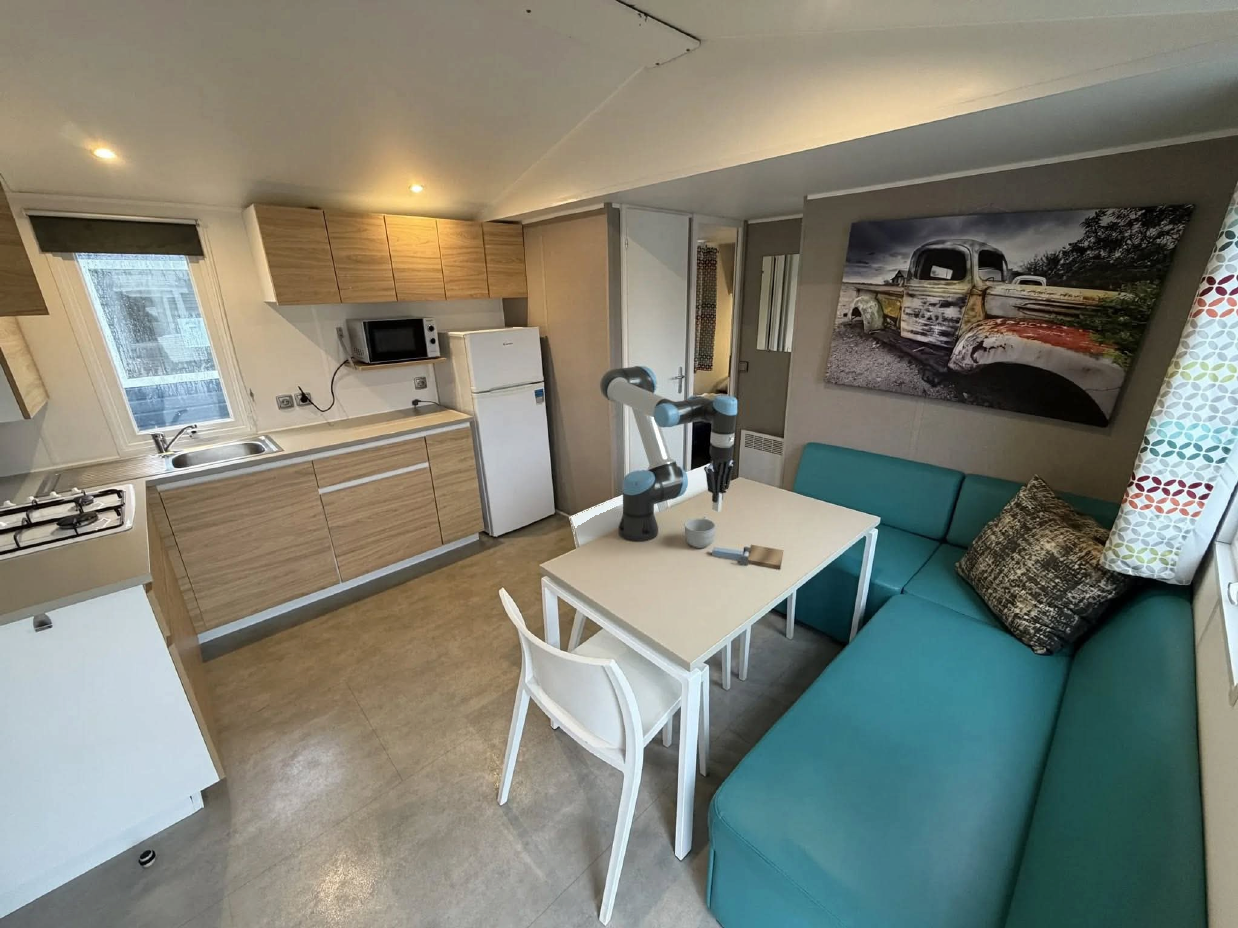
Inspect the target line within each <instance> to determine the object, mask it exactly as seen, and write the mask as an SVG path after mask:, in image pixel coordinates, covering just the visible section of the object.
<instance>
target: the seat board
mask: <svg viewBox="0 0 1238 928" xmlns="http://www.w3.org/2000/svg"><path fill="white" fill-rule="evenodd" d="M750 548H751V553H749V555H748V565H749V564H750V565H754V566H755V565H756V566H759V567H760V566H761V567H765V568H771V569H776V570H781V568H782V562H783V557H784V549H778V548H773V547H767V546H762V545H755V544H750Z"/></svg>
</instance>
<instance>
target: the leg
mask: <svg viewBox="0 0 1238 928" xmlns="http://www.w3.org/2000/svg"><path fill="white" fill-rule="evenodd" d="M743 551H744V550H738V549H731V548H727V547H726V548H724V547H717V546H714V547H713V548H712V552H711V554H712V555H711V556H712V557H715V558H722V559H726V560H732V561H733V560H734V561H736V562H738V561H739V562H740V559H741V555H743ZM748 555H749V552H747V551H745V552H744V555H743V556H748Z"/></svg>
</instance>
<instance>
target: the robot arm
mask: <svg viewBox="0 0 1238 928" xmlns="http://www.w3.org/2000/svg"><path fill="white" fill-rule="evenodd" d="M654 373H655V372H653V370H652V369H651V368H649V367H647V366H645V365H643V366H639V365H636V366H631V367H630V366H629V367H621V368H613V369H610V370H608V371H606V372H605V373H604V374H603V375H602V377H601V379H600V383H599V388H600V389H599V390H600V392H601V394H602V396H603V397H604V398H605V399H607V400H608V401H610V402H612V403H615V404H619V403H621V404H624V405H625V406H627V407H630V408H631V410H632V413H633V416H634V420H635V423H636V426H637V429H638V432H639V433H638V434H639V436H640V439H641V441H642V445H643V448H644V452H645V455H646V458H647V461H648V468H647V469H642V470H634V471H631V472H629V473H627V474H626V475H625V476H624V477H623V480H622V487H621V490H622V515H621V518H620V520H619V525H618V535H619V536H620V537H621V538H622V539H624V540H627V541H631V542H645V541H646V542H647V541H650V540H653V539H655V538H657V536H658V535H659V525H658V522H657V519H656V516H655V511H654V510H655V505H657V504H659V503H663V502H667V501H670V500H674V499H677V498H679V497H682V496H683V495H685V493H686V491H687V489H688V484H689V481H688V480H689V479H688V474H687V473H686V471H685V469H683V467H681V466H679V465H677V461H676V460H674V459H673V458H671V455H670V453H669V449H668V447H667V443H666V439H665V436H664V433H663V429H662V428H672V427H675V426H680V425H684V424H691V423H697V422H704V423H708V424H711V429H710V430H711V432H710V446H709V455H710V460H709V464H708V465H707V466H704V467H703V471H704V473H705V476H706V477H705V478H706V484H707V485H706V487H707V492H708V493H711V494H712V496H711V502H712V506H711V507H712V508H711V509H712V510H713V511H715V512H719V513H720V512H721V511H722V503H723V500H724V494H726V493H727V490H729V488H730V484H731V481H732V475H733V472H734V470H735V469H734V468H735V466H736V464H737V461H734V460H732V457H733V455H734V444H735V433H736V424H737V422H736V421H737V415H738V399H737V398H736V397H735V396H731V395H730V396H729V395H717V396H715V397H714V398H713V399H710V398H707V397H705V396H702V395H690V396H688V398H687V399H685V400H679V401H678V400H677V401H675V400H671V399H669V398H666V397H663V396H661V395H659V394H656V393H655V392H656V391H657V388H658V387H657V386H658V384H657V383H658V382H657V377H656V375H655V374H654Z"/></svg>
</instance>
